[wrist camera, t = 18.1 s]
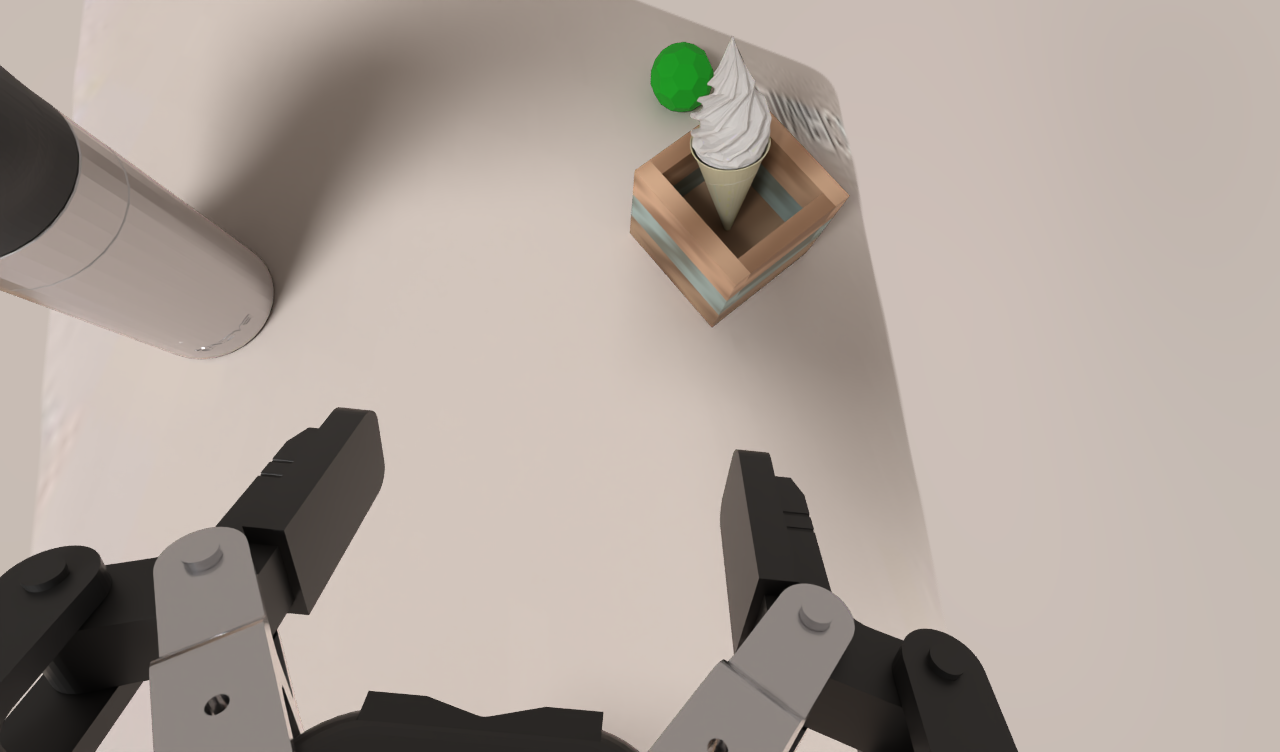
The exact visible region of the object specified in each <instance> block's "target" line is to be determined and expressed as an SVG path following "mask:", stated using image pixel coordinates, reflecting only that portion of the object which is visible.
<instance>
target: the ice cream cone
mask: <svg viewBox="0 0 1280 752" xmlns="http://www.w3.org/2000/svg"><path fill="white" fill-rule="evenodd" d="M713 74H714V75H715V76H714V77H713V78H712V79H711V80H710V81H709V82H708V83H707V84H708V85H709V86H712V87H713V88H714V92H713V93H712V94H710V95H707V96H703V97H699V98H698V100H697V101H698V102H700V103H702V105H703V109H702V110H700V111H699V112H692V113H691V114H690V117H691V118H694V119H697V120H698V121H699V122H700V125H699V126H698V127H697V128H696V129H693V130H691V139H690V149H691V152H692V155H693V156H694V158H695V159H696V160H697V162H698V165H699V167H700V170H701V172H702V175H703V177H704V180H705V183H706V185H707V187H708V190H709V192H710V195H711V197H712V200H713V202H714V205H715V207H716V210H717V212H718V214H719V217H720V219H721V222H722V224H723V227H724V229H725V230H730V229H731V227H732V225H733V223H734V220H735V218H736V216H737V214H738V212H739V210H740V208H741V205H742V203H743V201H744V199H745V197H746V195H747V192H748V190H749V188H750V186H751V184H752V182H753V179H754V177H755V175H756V173H757V171H758V169H759V166H760V164H761V162H762V159H763V158H764V157H765V156H766V154H767V153H768V151H769V148H770V144H771V139H770V123H771V119H772V118H771V114H770V111H769V107H768V104H767V101H766V97H764V96H763V95H762V94H761V93H759V92H758V91H757V90H756V89H754V86H755V82H756V81H755V80H754V78H753V76H752V75H751V73H750V72H749V70H748V69H747V67H746V65H745V63H744V61H743V59H742V56H741V54H740V52H739V50H738V48H737V45H736V43H735V40H734V37H732V36H731V40H730V42H729V44H728V46H727V49H726V51H725V53H724V55H723V58H722V60H721V62H720V64H719V66H718V68H717V69H716V70H715V72H714V73H713Z"/></svg>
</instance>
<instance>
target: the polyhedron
mask: <svg viewBox="0 0 1280 752" xmlns="http://www.w3.org/2000/svg"><path fill="white" fill-rule="evenodd" d="M713 73H714V72H713V69H712V67H711V64H710V62H709V60H708V58H707V56H706V53H705V51H704V50H702V49H700V48H699V47H697V46H696V45H694V44H690V43H686V42H681V43H675V44H672V45H670V46H668V47H667V48H665V49H663V50H662V51H661V53H660V54H659V55H658V57H657V58H656V59H655V62H654V64H653V67H652V70H651V86H652V88H653V91H654V93H655V96H656V97H657V99H658V100H659V102H660V104H661V105H663V106H665V107H666V108H668V109H669V110H671V111H677V112H684V111H692V110H693V109H695V108H696V107H698V106H700V105H701V104H702V103H700V102H698V101H697V100H698V98H699V97H703V96H707V95H709V94H710V90H711V87H712V86H709V85H708V84H707V83H708V82H709V81H710V80H711V79H712V78H713Z"/></svg>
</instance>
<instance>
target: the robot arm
mask: <svg viewBox="0 0 1280 752" xmlns="http://www.w3.org/2000/svg"><path fill="white" fill-rule="evenodd" d="M0 290H1V291H4V292H7V293H9V294H12V295H15V296H17V297H20V298H23V299H26V300H28V301H31V302H34V303H36V304H39V305H42V306H45V307H47V308H50V309H53V310H56V311H58V312H61V313H64V314H67V315H69V316H72V317H75V318H78V319H80V320H83V321H86V322H88V323H91V324H94V325H97V326H99V327H102V328H105V329H108V330H110V331H113V332H116V333H119V334H121V335H124V336H127V337H130V338H132V339H135V340H137V341H140V342H143V343H146V344H148V345H151V346H154V347H157V348H159V349H162V350H165V351H168V352H170V353H173V354H176V355H179V356H183V357H187V358H192V359H208V358H216V357H220V356H223V355H226V354H229V353H231V352H233V351H235V350H237V349H239V348H240V347H242V346H244V345H245V344H246V343H247V342H249V341H250V340H251V339H252V338H254V337H255V335H256V334H257V333H258V332H259V331H260V329H261V328H262V327H263V326H264V324H265V322H266V320H267V318H268V316H269V314H270V311H271V308H272V304H273V295H274V288H273V282H272V278H271V275H270V273H269V271H268V268H267V267H266V265H265V264H264V263H263V261H262V260H261V259H260V258H259V257H258V256H257V255H255V254H254V253H253V252H252V251H250V250H249V249H248V248H246V247H245V246H244V245H242V244H241V243H240V242H238V241H237V240H235V239H234V238H233V237H231V236H230V235H229V234H227V233H226V232H225V231H223V230H222V229H221V228H219V227H218V226H217V225H215V224H214V223H212V222H211V221H210V220H208V219H207V218H206V217H204V216H203V215H201V214H200V213H199V212H197V211H196V210H195V209H193V208H192V207H191V206H189V205H188V204H186V203H185V202H184V201H182V200H181V199H180V198H178V197H177V196H175V195H174V194H173V193H171V192H170V191H169V190H167V189H166V188H164V187H163V186H162V185H160V184H159V183H158V182H156V181H155V180H153V179H152V178H151V177H149V176H148V175H147V174H145V173H144V172H142V171H141V170H140V169H138V168H137V167H136V166H134V165H133V164H132V163H130V162H129V161H127V160H126V159H125V158H123V157H122V156H121V155H119V154H118V153H116V152H115V151H114V150H112V149H111V148H110V147H108V146H107V145H105V144H104V143H102V142H101V141H99V140H98V139H97V138H95V137H94V136H93V135H91V134H90V133H88V132H87V131H86V130H84V129H83V128H82V127H80V126H79V125H78V124H76V123H75V122H73V121H72V120H71V119H69V118H68V117H67V116H65V115H64V114H62V113H61V112H60V111H58V110H57V109H55V108H54V107H53V106H52V105H50V104H49V103H48V102H46V101H45V100H43V99H42V98H41V97H39V96H38V95H37V94H35V93H34V92H32V91H31V90H30V89H28V88H27V87H26V86H24V85H23V84H22V83H21V82H20V81H18V80H17V79H16V78H15V77H14V76H12V75H11V74H10V73H9V72H8V71H6V70H5V69H4V68H3V67H2V66H0ZM384 471H385V464H384V457H383V451H382V444H381V438H380V431H379V425H378V419H377V416H376V413H375V412H374V411H370V410H360V409H351V408H341V407H338V408H336V409H334V410H333V411H332V413H331V414H330V415H329V416H328V418H327V419H326V420H325V421H324V423H323V424H322V425H321V427H320V428H307V429H306V430H304V431H303V432H301V433H300V434H298V435H296V436H295V437H293V438H292V439H290V440H288V441H287V442H286V443H285V444H284V445H283V447H282V448H281V449H280V450H279V451H278V453H277V454H276V455H275V456H274V457H273V461H272V462H269V463H268V465H267V466H266V467H265V468H264V469H263V471H262V472H261V476H258V477H257V478H256V479H255V480H254V481H253V482H252V484H251V485H250V486H249V487H248V488H247V490H246V491H245V492H244V493H243V494H242V496H241V497H240V498H239V499H238V500H237V502H236V503H235V504H234V505H233V506H232V508H231V509H230V510H229V511H228V512H227V514H226V515H225V516H224V517H223V518H222V519H221V521H220V522H219V523H218V524H217V525H216V527H212V528H206V529H202V530H198V531H196V532H193V533H190V534H188V535H186V536H184V537H182V538H180V539H178V540H177V541H175V542H174V543H172V544H171V545H170V546H168V547H167V548H166V549H165V550H164V551H163V552H162V553H161V554H160V556H159V557H156V558H151V559H144V560H137V561H131V562H124V563H117V564H110V565H104V563H103V561H102V559H101V557H100V555H99V554H98V553H97V552H96V551H95V550H93V549H92V548H89V547H85V546H64V547H59V548H54V549H50V550H47V551H44V552H41V553H39V554H36V555H34V556H32V557H29V558H27V559H25V560H24V561H22V562H20V563H18V564H17V565H15V566H14V567H12V568H11V569H9V570H8V571H7V572H6V573H5V574H3V575H2V576H1V577H0V752H95V751H96V750H97V748H98V747H99V745H100V744H101V742H102V741H103V739H104V738H105V736H106V735H107V734H108V732H109V731H110V729H111V728H112V726H113V725H114V723H115V722H116V720H117V719H118V717H119V716H120V715H121V713H122V712H123V710H124V709H125V707H126V706H127V704H128V703H129V701H130V700H131V699H132V697H133V696H134V694H135V693H136V691H137V690H138V688H139V687H140V685H141V684H142V682H143V681H147V680H150V698H151V715H152V732H153V749H154V752H639V751H638V750H637V749H635V748H634V747H632V746H631V745H630V744H628V743H627V742H626V741H624V740H622V739H620V738H618V737H617V736H615V735H613V734H610V733H608V732H605V731H603V730H602V722H603V712H597V711H586V710H575V709H563V708H552V707H543V708H537V709H531V710H525V711H519V712H513V713H507V714H501V715H496V716H490V717H481V716H477V715H475V714H472V713H469V712H467V711H464V710H462V709H459V708H456V707H454V706H451V705H449V704H446V703H443V702H441V701H438V700H436V699H433V698H430V697H428V696H420V695H409V694H397V693H386V692H375V691H369V692H368V694H367V697H366V699H365V701H364V704H363V706H362V709H361V710H360V711H355V712H351V713H347V714H344V715H340V716H337V717H334V718H332V719H329V720H327V721H324V722H322V723H320V724H318V725H316V726H314V727H312V728H310V729H308V730H307V731H304V728H303V725H302V721H301V718H300V714H299V710H298V707H297V702H296V698H295V694H294V690H293V686H292V682H291V678H290V674H289V670H288V666H287V662H286V658H285V653H284V649H283V645H282V641H281V637H280V634H279V631H278V627H279V625H280V623H281V622H282V620H283V619H284V617H285V615H286V614H287V613H293V614H304V615H309V614H310V612H311V611H312V609H313V607H314V605H315V604H316V602H317V600H318V598H319V597H320V595H321V593H322V591H323V590H324V588H325V586H326V584H327V583H328V581H329V579H330V577H331V575H332V574H333V572H334V570H335V568H336V567H337V565H338V563H339V561H340V560H341V558H342V556H343V554H344V553H345V551H346V549H347V547H348V546H349V544H350V542H351V540H352V539H353V537H354V535H355V533H356V532H357V530H358V528H359V526H360V525H361V523H362V521H363V519H364V517H365V516H366V514H367V512H368V510H369V509H370V507H371V505H372V503H373V502H374V500H375V498H376V496H377V495H378V493H379V491H380V489H381V486H382V483H383V478H384ZM720 527H721V537H722V546H723V555H724V565H725V574H726V584H727V593H728V602H729V612H730V621H731V630H732V640H733V649H734V656H733V657H732V658H731V659H730V660H729V661H728V662H727V661H726V660H722V661H720V662H719V663H718V664H717V665H716V666H715V667H714V668H713V670H712V671H711V672H710V673H709V675H708V676H707V677H706V678H705V680H704V681H703V682H702V684H701V685H700V686H699V687H698V689H697V690H696V691H695V692H694V694H693V695H692V696H691V698H690V699H689V700H688V701H687V703H686V704H685V705H684V706H683V708H682V709H681V710H680V711H679V713H678V714H677V715H676V717H675V718H674V719H673V720H672V722H671V723H670V724H669V725H668V727H667V728H666V729H665V731H664V732H663V733H662V734H661V736H660V737H659V738H658V739H657V741H656V742H655V743H654V745H653V746H652V747H651V748H650V750H649V751H648V752H795V751H796V750H797V748H798V746H799V744H800V743H801V741H802V739H803V737H804V736H805V734H806V732H807V730H808V729H812V730H814V731H816V732H819V733H821V734H823V735H825V736H828V737H830V738H832V739H835V740H837V741H839V742H842V743H844V744H846V745H848V746H851V747H853V748H855V749H857V750H858V752H1018V750H1017V748H1016V746H1015V744H1014V741H1013V738H1012V736H1011V733H1010V731H1009V729H1008V726H1007V724H1006V721H1005V719H1004V716H1003V714H1002V712H1001V709H1000V707H999V704H998V702H997V700H996V697H995V695H994V692H993V690H992V687H991V685H990V683H989V680H988V678H987V675H986V673H985V671H984V668H983V666H982V665H981V663H980V661H979V660H978V659H977V657H976V656H975V655H974V654H973V652H972V651H971V650H970V649H969V648H967V647H966V646H965V645H964V644H963V643H961V642H960V641H958V640H957V639H955V638H954V637H952V636H950V635H948V634H946V633H943V632H941V631H937V630H933V629H918V630H915V631H913V632H911V633H909V634H908V635H907V636H906V638H905V639H904V641H903V640H900V639H898V638H895V637H892V636H890V635H887V634H885V633H882V632H879V631H877V630H874V629H872V628H869V627H867V626H865V625H863V624H861V623H860V622H858V621H856V620H855V619H854V618H853V616H852V614H851V612H850V610H849V609H848V607H847V606H846V605H845V603H844V602H843V601H842V600H841V599H840V598H839V597H838V596H836V595H835V594H833V593H832V591H831V589H830V585H829V582H828V578H827V575H826V571H825V568H824V564H823V560H822V557H821V553H820V550H819V546H818V543H817V539H816V535H815V533H814V532H813V530H814V528H813V525H812V521H811V518H810V517H809V510H808V507H807V503H806V500H805V496H804V494H803V493H802V492H801V491H800V489H799V488H798V487H797V485H796V484H795V483H794V482H793V480H792V479H791V478H787V477H777V476H775V475H774V470H773V466H772V462H771V457H770V455H769V453H766V452H756V451H747V450H737V449H736V450H735V451H734V453H733V457H732V461H731V465H730V469H729V473H728V477H727V481H726V486H725V490H724V494H723V498H722V503H721V513H720ZM42 673H43V675H42V676H41V678H40V679H39V680H38V681H37V682H36V684H35V685H34V686H33V687H32V688H31V690H30V691H29V692H28V693H27V694H26V696H25V697H24V698H23V699H22V700H21V702H20V703H19V704H18V705H17V706H16V708H15V709H14V710H13V711H12V712H11V714H10V715H9V716H8V717H7V715H8V713H9V712H10V711H11V709H12V708H13V707H14V706H15V704H16V703H17V702H18V701H19V700H20V698H21V697H22V696H23V695H24V694H25V693H26V691H27V690H28V689H29V688H30V687H31V685H32V684H33V683H34V682H35V681H36V679H37V678H38V677H39V676H40V675H41V674H42ZM6 717H7V718H6Z"/></svg>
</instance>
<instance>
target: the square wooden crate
mask: <svg viewBox="0 0 1280 752" xmlns="http://www.w3.org/2000/svg"><path fill="white" fill-rule="evenodd" d="M770 114H771V118H772V119H771V123H770V139H771V144H770V148H769V151H768V153H767V154H766V156H765V157H764V158H763V159H762V162H761V164H760V166H759V169H758V171H757V173H756V175H755V177H754V179H753V182H752V184H751V186H750V188H749V190H748V192H747V195H746V197H745V199H744V201H743V203H742V205H741V208H740V210H739V212H738V214H737V216H736V218H735V220H734V223H733V225H732V227H731V229H730V230H725V229H724V227H723V224H722V222H721V219H720V217H719V214H718V212H717V210H716V207H715V205H714V202H713V200H712V197H711V195H710V192H709V190H708V187H707V185H706V183H705V180H704V177H703V175H702V172H701V170H700V167H699V165H698V162H697V160H696V159H695V158H694V156H693V155H692V152H691V149H690V139H691V131H690V132H688V133H687V134H686V135H684V136H683V137H681V138H680V139H679V140H677V141H676V142H674V143H673V144H672V145H670V146H669V147H667V148H666V149H664V150H663V151H662V152H660V153H659V154H657V155H656V156H655V157H653V158H652V159H650V160H649V161H648V162H646V163H645V164H643V165H642V166H641V167H639V168H638V169H636V170H635V174H634V187H633V199H632V212H631V225H630V233H631V235H632V236H633V237H634V238H635V239H636V240H637V241H638V243H639V244H640V245H641V246H642V247H643V248H644V250H645V251H646V252H647V253H648V254H649V255H650V256H651V258H652V259H653V260H654V261H655V262H656V263H657V265H658V266H659V267H660V268H661V269H662V270H663V271H664V273H665V274H666V275H667V276H668V277H669V278H670V280H671V281H672V282H673V283H674V284H675V285H676V287H677V288H678V289H679V290H680V291H681V292H682V293H683V295H684V296H685V297H686V298H687V299H688V300H689V302H690V303H691V304H692V305H693V306H694V307H695V308H696V310H697V311H698V312H699V313H700V314H701V315H702V317H703V318H704V319H705V320H706V321H707V322H708V323H709V325H710V326H711V327H713V326H714V325H716V324H717V323H718V322H719V321H721V320H722V319H723V318H724V317H726V316H727V315H728V314H730V313H731V312H732V311H733V310H735V309H736V308H737V307H738V306H740V305H741V304H742V303H743V302H745V301H746V300H747V299H748V298H750V297H751V296H752V295H753V294H755V293H756V292H757V291H758V290H760V289H761V288H762V287H763V286H765V285H766V284H767V283H769V282H770V281H771V280H772V279H774V278H775V277H776V276H777V275H779V274H780V273H781V272H782V271H784V270H785V269H786V268H787V267H789V266H790V265H791V264H792V263H794V262H795V261H796V260H797V259H799V258H800V257H801V256H802V255H804V254H805V253H806V252H807V251H808V249H809V248H810V247H811V246H812V244H813V243H814V242H815V240H816V239H817V238H818V236H819V235H820V234H821V232H822V231H823V230H824V229H825V227H826V226H827V225H828V223H829V222H830V221H831V219H832V218H833V217H834V215H835V214H836V213H837V212H838V210H839V209H840V208H841V206H842V205H843V204H844V202H845V201H846V200H847V198H848V197H849V195H848V194H847V193H846V191H845V190H844V189H843V188H842V187H841V186H840V185H839V184H838V183H837V182H836V181H835V180H834V179H833V178H832V177H831V176H830V174H829V173H828V172H827V171H826V170H825V169H824V168H823V167H822V166H821V165H820V164H819V163H818V162H817V161H816V160H815V159H814V158H813V156H812V155H811V154H810V153H809V152H808V151H807V150H806V149H805V148H804V147H803V146H802V145H801V144H800V143H799V142H798V141H797V140H796V138H795V137H794V136H793V135H792V134H791V133H790V132H789V131H788V130H787V129H786V128H785V127H784V126H783V125H782V124H781V123H780V122H779V120H778V119H777V118H776V117H775V116H774V115H773V114H772V113H771V112H770ZM698 126H699V125H698ZM698 126H697V127H698ZM697 127H695V128H694V129H696V128H697Z"/></svg>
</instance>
